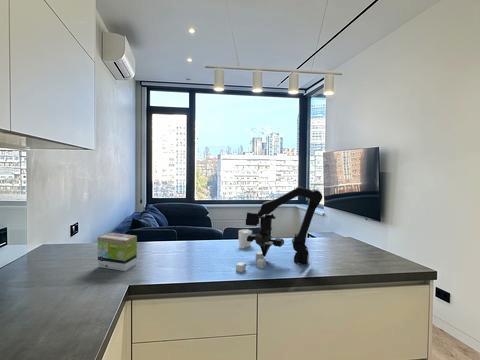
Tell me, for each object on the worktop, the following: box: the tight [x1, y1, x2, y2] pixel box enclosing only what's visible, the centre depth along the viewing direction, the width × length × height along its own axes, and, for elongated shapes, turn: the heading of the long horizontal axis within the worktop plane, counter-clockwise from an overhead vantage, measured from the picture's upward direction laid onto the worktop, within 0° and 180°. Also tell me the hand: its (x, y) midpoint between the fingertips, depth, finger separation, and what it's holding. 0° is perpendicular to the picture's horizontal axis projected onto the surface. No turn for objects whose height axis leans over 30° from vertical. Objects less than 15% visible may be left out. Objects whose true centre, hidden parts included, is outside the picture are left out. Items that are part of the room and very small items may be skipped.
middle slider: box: [256, 258, 267, 269], centre depth 154 cm, size 3×4×3 cm
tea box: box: [97, 232, 138, 272], centre depth 151 cm, size 15×10×15 cm, turn 76°
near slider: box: [235, 261, 247, 273], centre depth 148 cm, size 3×4×3 cm
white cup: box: [238, 229, 253, 249], centre depth 189 cm, size 8×8×10 cm
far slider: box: [255, 251, 265, 261], centre depth 165 cm, size 3×4×3 cm
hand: (264, 256), depth 164 cm, fingers closed
